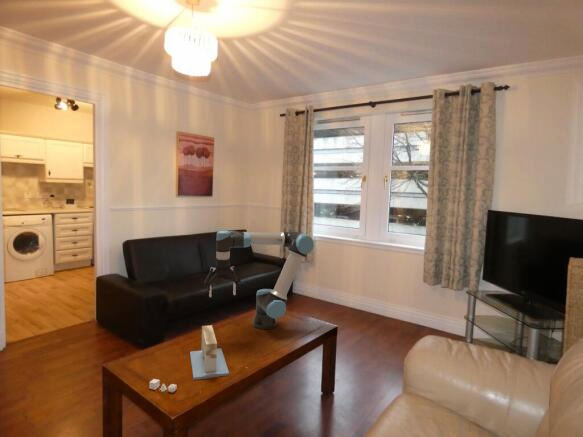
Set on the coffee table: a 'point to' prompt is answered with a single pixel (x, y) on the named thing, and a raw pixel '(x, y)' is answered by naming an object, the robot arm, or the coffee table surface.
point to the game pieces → (156, 383)
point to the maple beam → (209, 342)
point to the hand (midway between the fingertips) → (222, 295)
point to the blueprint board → (200, 364)
